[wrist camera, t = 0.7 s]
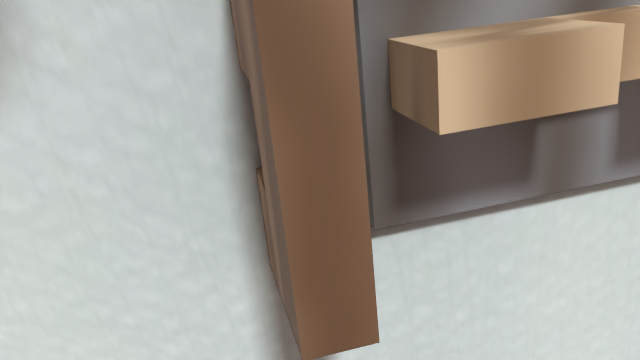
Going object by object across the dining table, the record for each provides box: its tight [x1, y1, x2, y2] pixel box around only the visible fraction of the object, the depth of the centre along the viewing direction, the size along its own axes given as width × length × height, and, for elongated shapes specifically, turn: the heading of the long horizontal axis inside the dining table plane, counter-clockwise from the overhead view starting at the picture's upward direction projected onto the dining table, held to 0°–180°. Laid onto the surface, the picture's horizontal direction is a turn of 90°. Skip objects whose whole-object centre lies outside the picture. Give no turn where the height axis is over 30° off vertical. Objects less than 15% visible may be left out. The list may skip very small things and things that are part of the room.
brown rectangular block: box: [230, 0, 379, 360], centre depth 17 cm, size 2×12×6 cm, turn 6°
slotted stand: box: [353, 0, 640, 230], centre depth 20 cm, size 18×12×5 cm, turn 96°
